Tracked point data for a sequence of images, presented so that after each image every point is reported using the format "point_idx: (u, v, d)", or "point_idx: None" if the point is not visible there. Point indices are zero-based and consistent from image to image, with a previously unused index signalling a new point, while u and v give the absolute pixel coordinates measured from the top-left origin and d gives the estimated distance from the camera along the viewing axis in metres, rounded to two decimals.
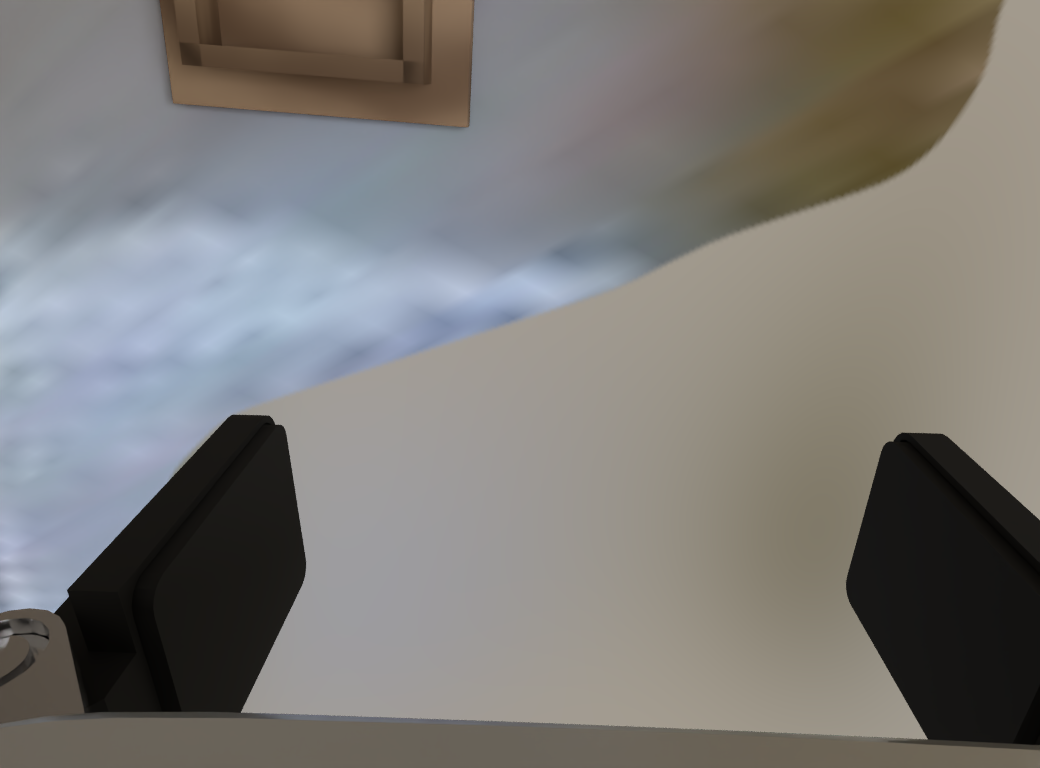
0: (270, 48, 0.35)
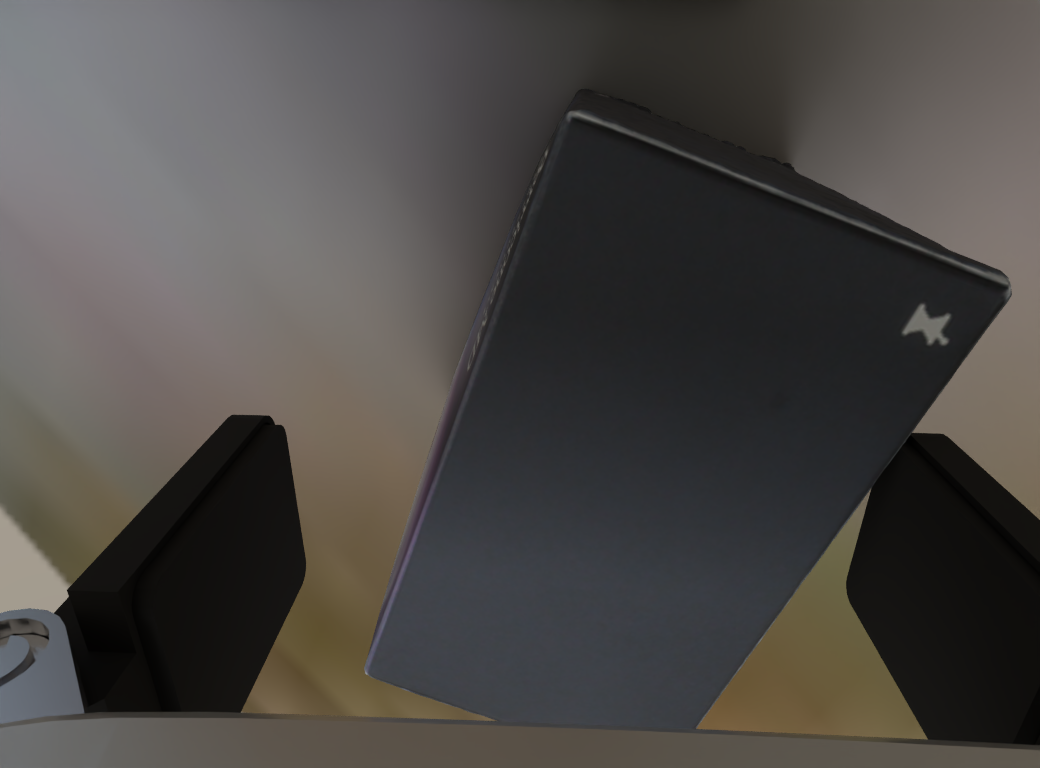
0: None
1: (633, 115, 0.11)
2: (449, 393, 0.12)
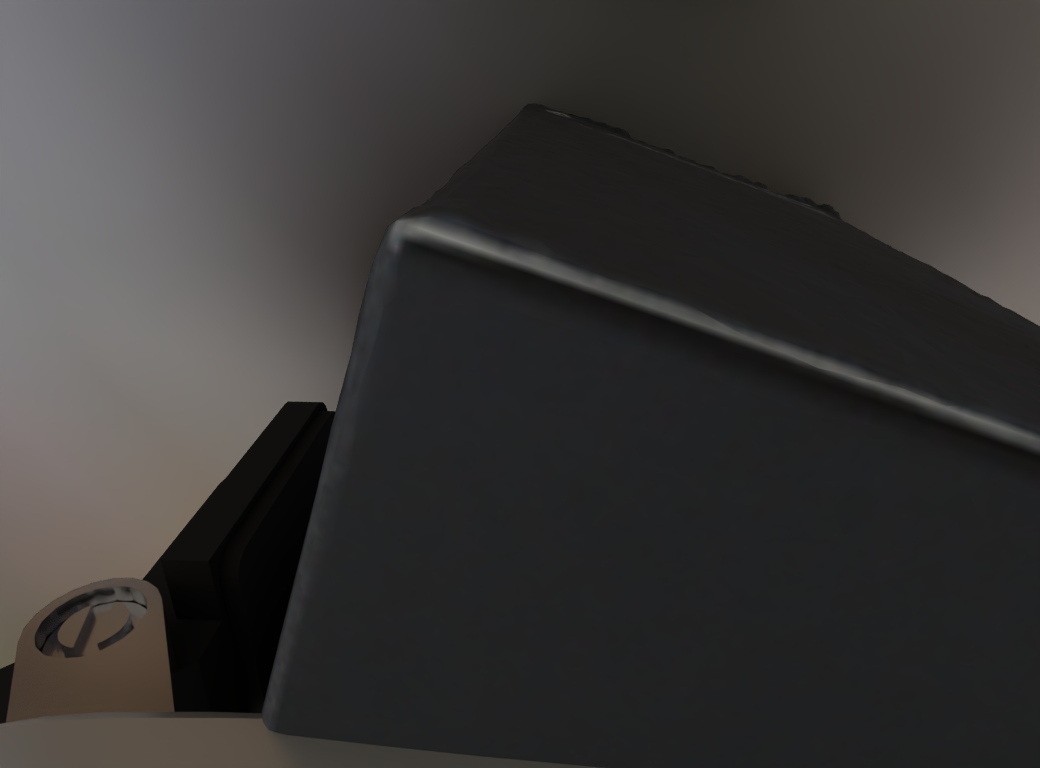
0: None
1: (601, 165, 0.06)
2: None
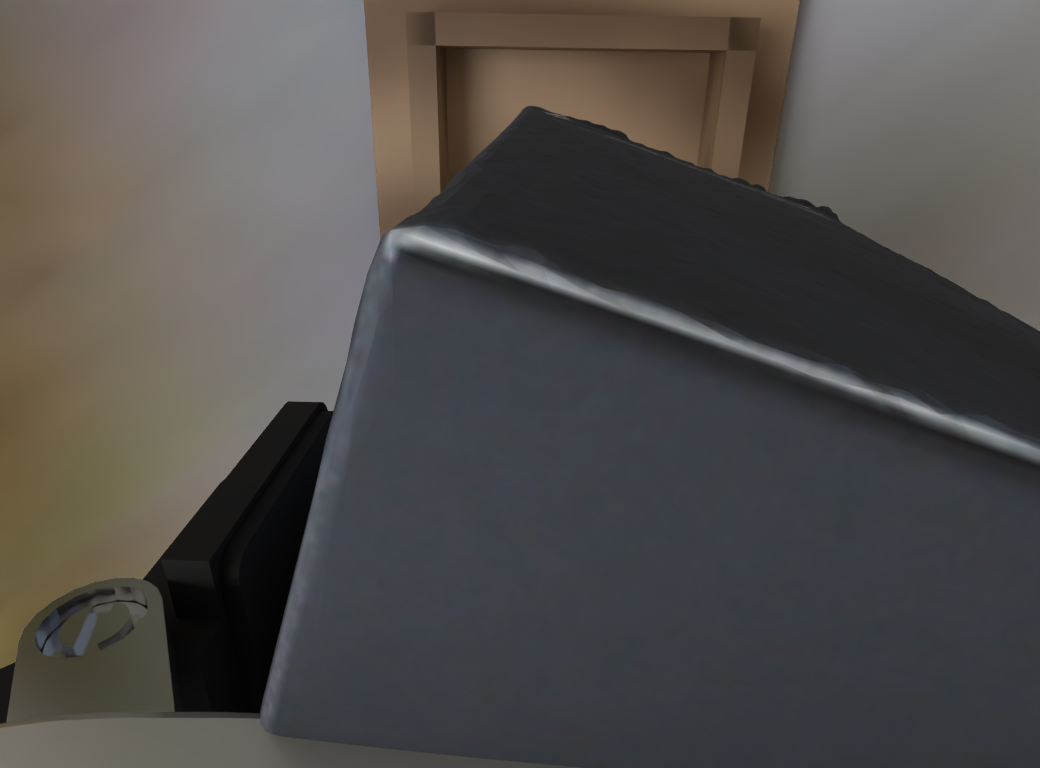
0: (642, 53, 0.25)
1: (599, 169, 0.06)
2: None
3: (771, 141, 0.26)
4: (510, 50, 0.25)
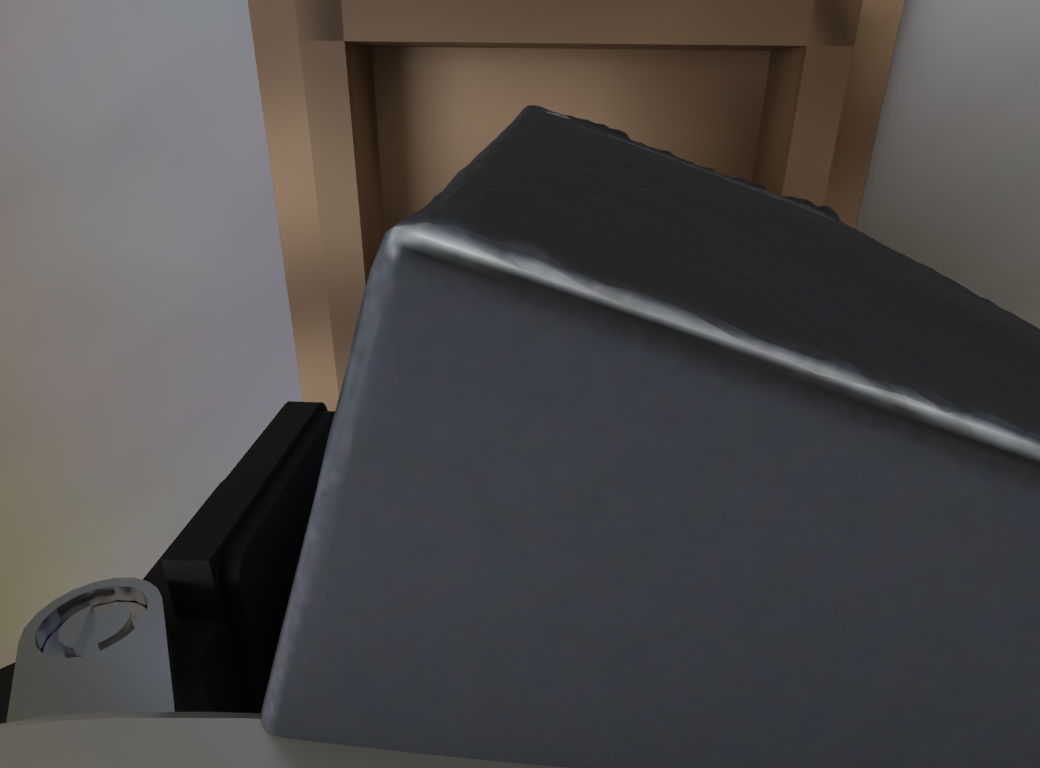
0: (667, 52, 0.17)
1: (600, 168, 0.06)
2: None
3: (858, 181, 0.18)
4: (468, 49, 0.17)
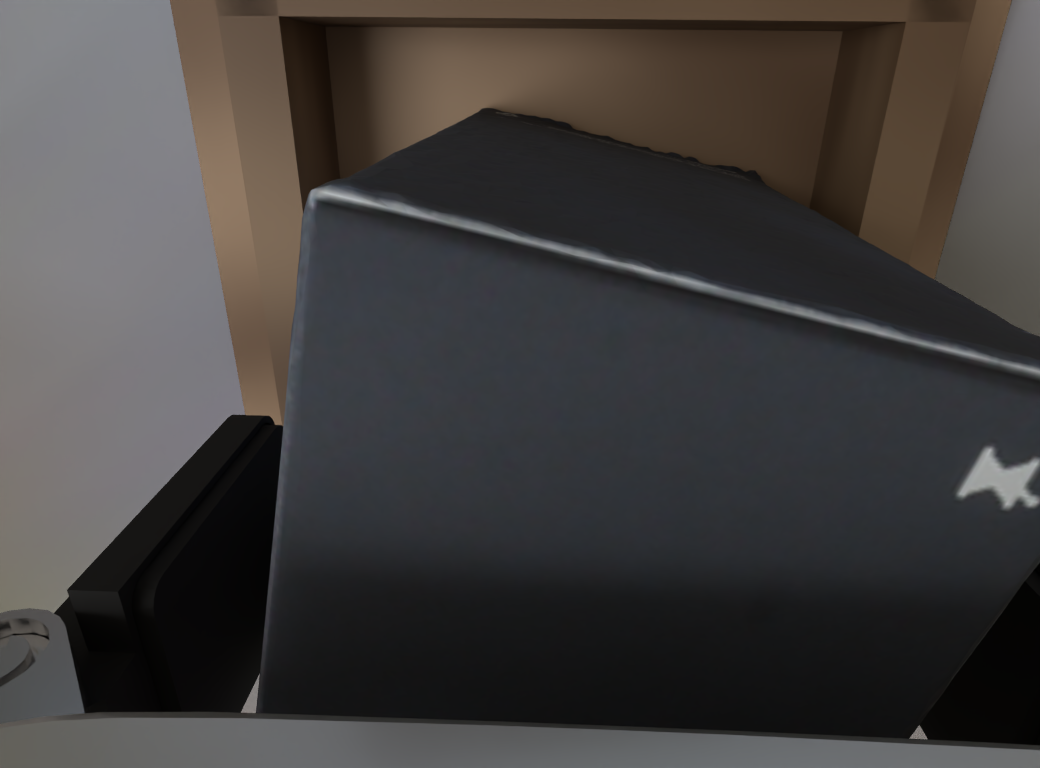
0: (708, 33, 0.13)
1: (506, 151, 0.08)
2: None
3: (947, 199, 0.14)
4: (450, 29, 0.13)
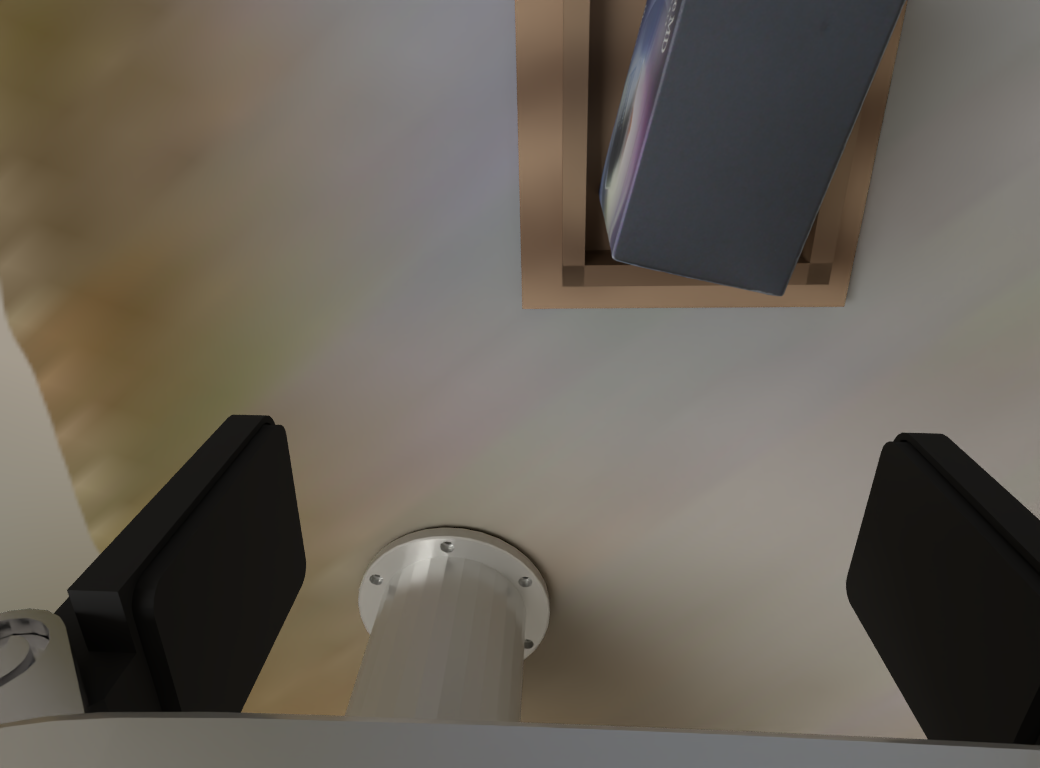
0: None
1: None
2: (639, 94, 0.22)
3: None
4: None
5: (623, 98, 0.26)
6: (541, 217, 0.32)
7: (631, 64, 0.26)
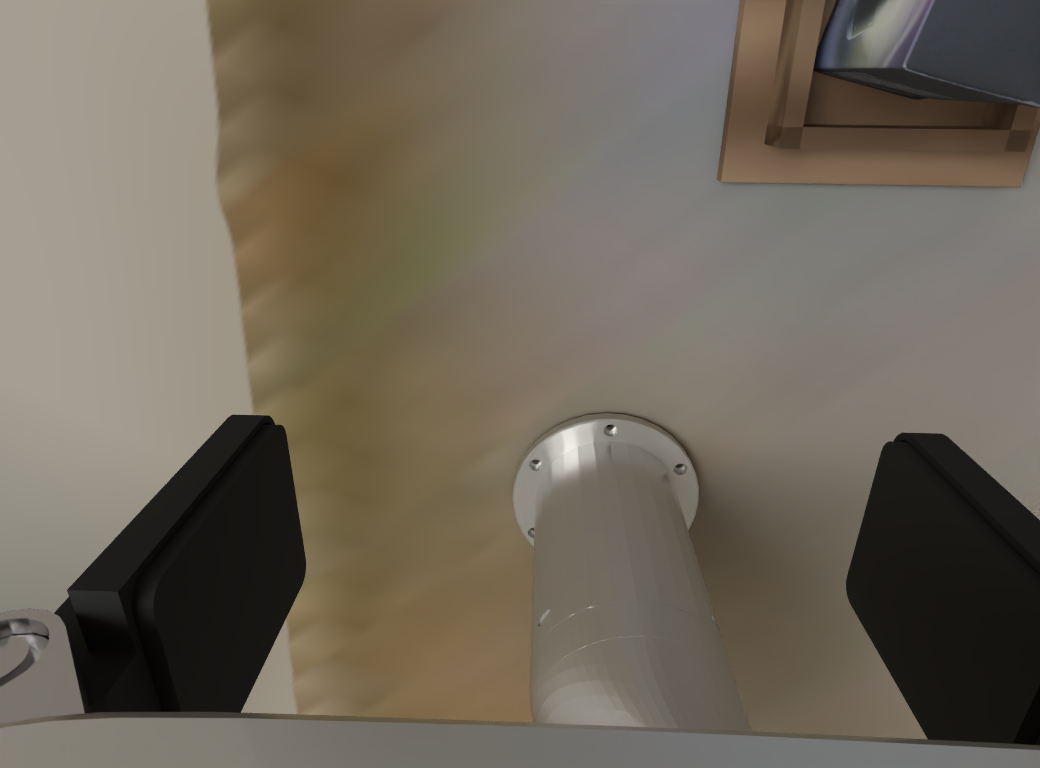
0: None
1: None
2: None
3: None
4: None
5: None
6: (753, 89, 0.35)
7: None
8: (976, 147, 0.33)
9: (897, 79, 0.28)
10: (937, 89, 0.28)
